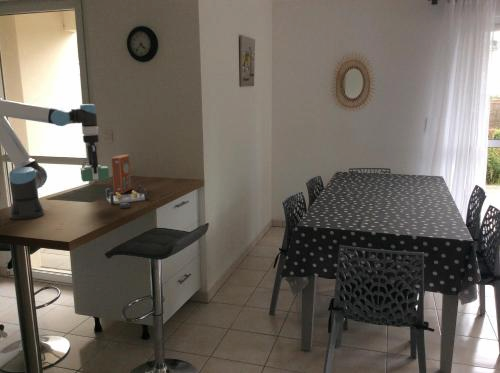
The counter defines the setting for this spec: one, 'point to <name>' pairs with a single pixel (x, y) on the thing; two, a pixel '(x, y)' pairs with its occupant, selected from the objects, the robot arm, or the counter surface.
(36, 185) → the robot arm
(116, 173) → the orange cardboard box
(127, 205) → the tape roll
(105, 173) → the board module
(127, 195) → the chassis
